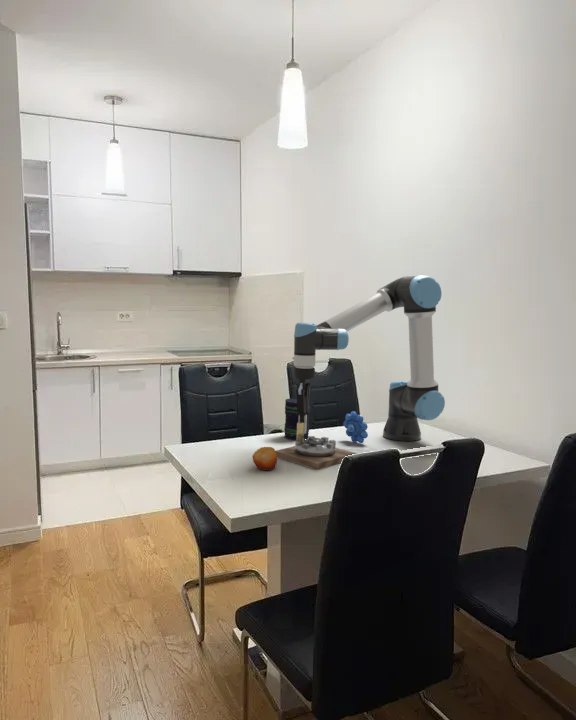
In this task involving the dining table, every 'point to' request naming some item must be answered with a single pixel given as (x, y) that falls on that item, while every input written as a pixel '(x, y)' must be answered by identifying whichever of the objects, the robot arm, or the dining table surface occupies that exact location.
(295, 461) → the base plate
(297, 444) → the crank wheel
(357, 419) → the grapes
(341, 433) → the dining table surface
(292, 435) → the storage jar
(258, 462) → the fruit
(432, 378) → the robot arm
